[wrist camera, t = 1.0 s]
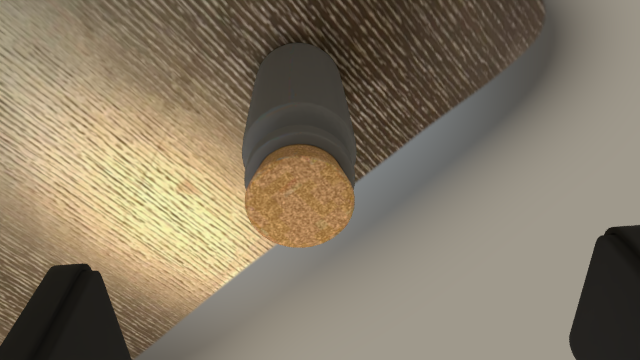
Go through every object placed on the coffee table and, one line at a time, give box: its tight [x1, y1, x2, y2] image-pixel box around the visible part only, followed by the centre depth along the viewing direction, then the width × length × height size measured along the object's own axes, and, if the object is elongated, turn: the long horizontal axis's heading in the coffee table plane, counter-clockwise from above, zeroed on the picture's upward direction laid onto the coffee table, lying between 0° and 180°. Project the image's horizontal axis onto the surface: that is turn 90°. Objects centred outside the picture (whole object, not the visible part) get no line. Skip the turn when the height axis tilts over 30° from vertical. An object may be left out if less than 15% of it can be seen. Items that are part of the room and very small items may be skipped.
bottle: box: [242, 43, 356, 248], centre depth 28 cm, size 6×6×15 cm
